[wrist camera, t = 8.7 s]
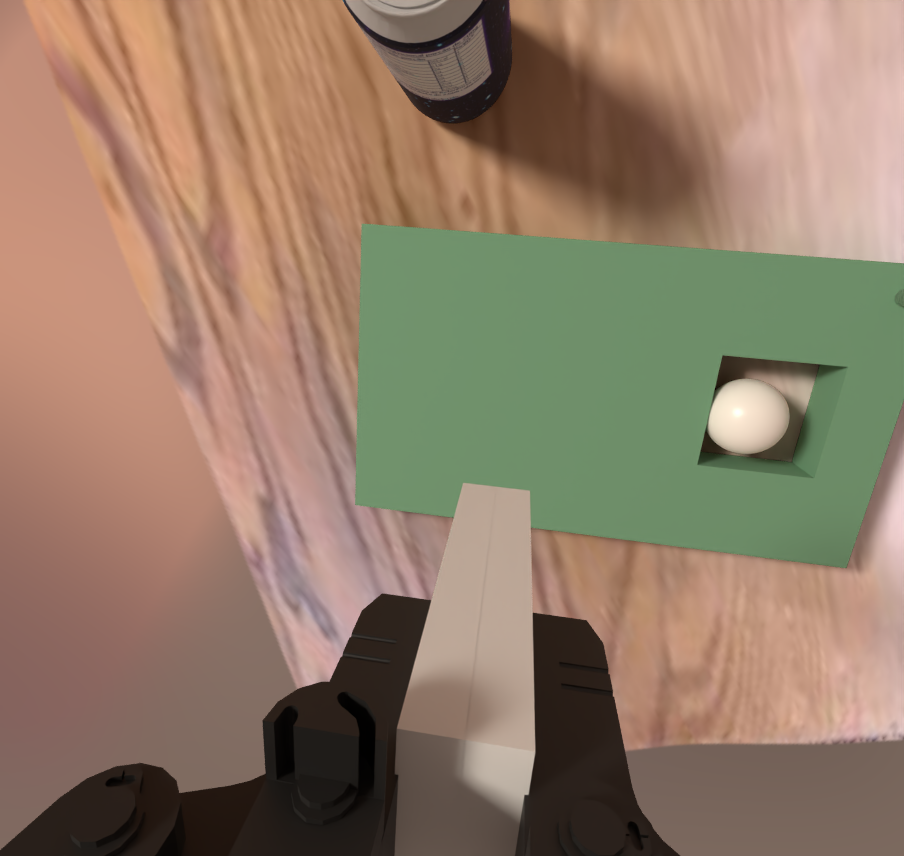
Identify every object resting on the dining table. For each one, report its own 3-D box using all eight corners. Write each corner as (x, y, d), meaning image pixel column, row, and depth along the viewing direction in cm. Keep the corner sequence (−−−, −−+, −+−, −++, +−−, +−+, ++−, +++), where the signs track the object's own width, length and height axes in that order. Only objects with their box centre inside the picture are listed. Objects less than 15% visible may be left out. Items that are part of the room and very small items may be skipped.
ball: (702, 378, 27) (792, 394, 25) (722, 367, 30) (804, 381, 28) (687, 450, 28) (771, 472, 26) (707, 433, 31) (784, 452, 29)
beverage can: (535, 65, 27) (544, -85, 15) (452, 152, 28) (404, 75, 17) (460, -31, 26) (410, -266, 14) (379, 64, 27) (276, -79, 16)
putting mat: (374, 227, 30) (361, 223, 27) (912, 266, 27) (949, 266, 25) (366, 488, 35) (355, 504, 32) (822, 545, 32) (846, 568, 29)
